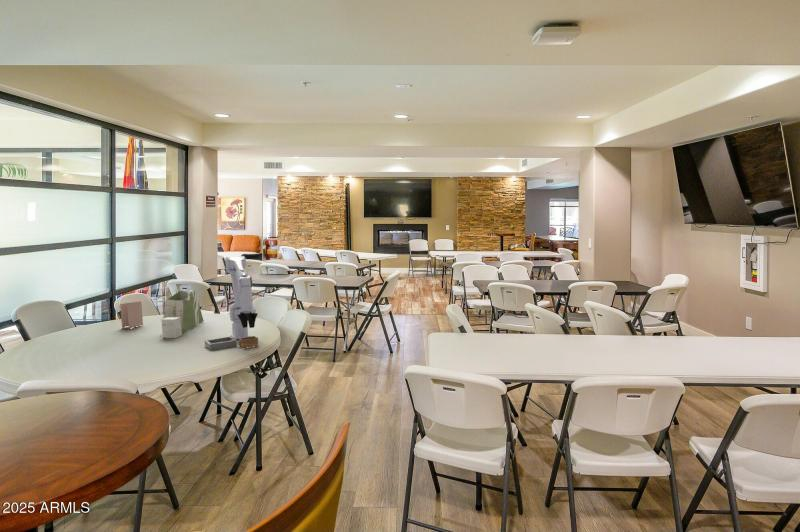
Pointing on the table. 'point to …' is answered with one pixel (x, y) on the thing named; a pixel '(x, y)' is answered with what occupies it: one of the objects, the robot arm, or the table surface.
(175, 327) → the small box
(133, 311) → the pink upright box
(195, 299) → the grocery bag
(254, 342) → the small crate
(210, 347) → the big crate
